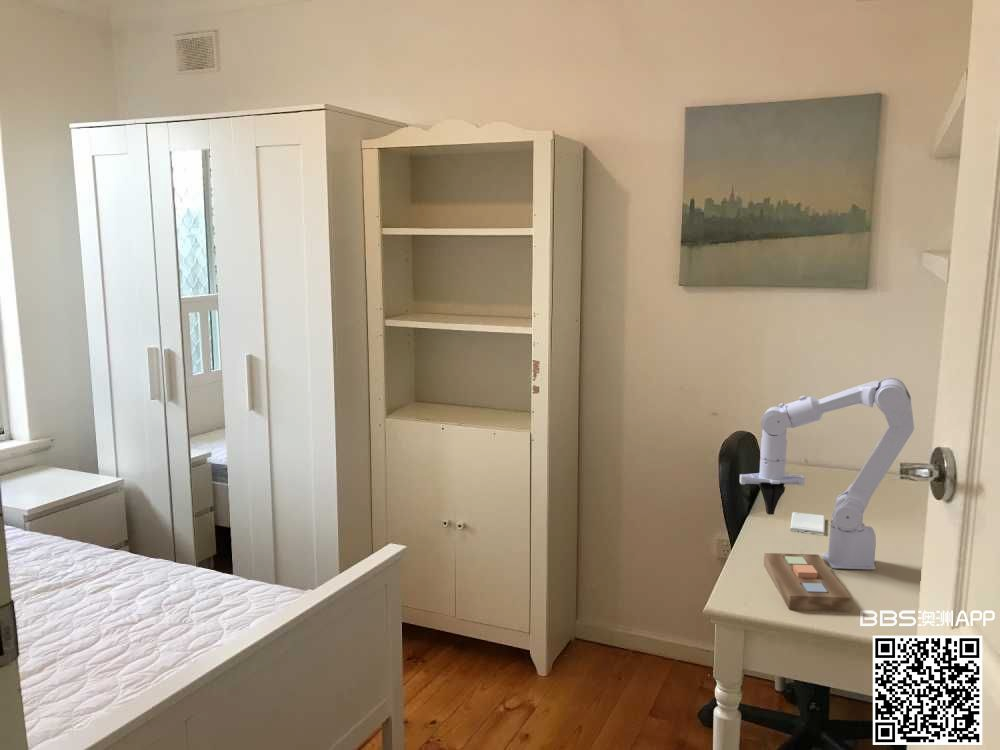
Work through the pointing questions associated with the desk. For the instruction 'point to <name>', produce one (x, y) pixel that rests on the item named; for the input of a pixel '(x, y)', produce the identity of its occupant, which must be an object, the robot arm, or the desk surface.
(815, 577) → the terracotta button
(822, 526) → the hard drive
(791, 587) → the button panel
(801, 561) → the sage button
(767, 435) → the robot arm
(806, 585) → the slate button
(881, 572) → the desk surface
